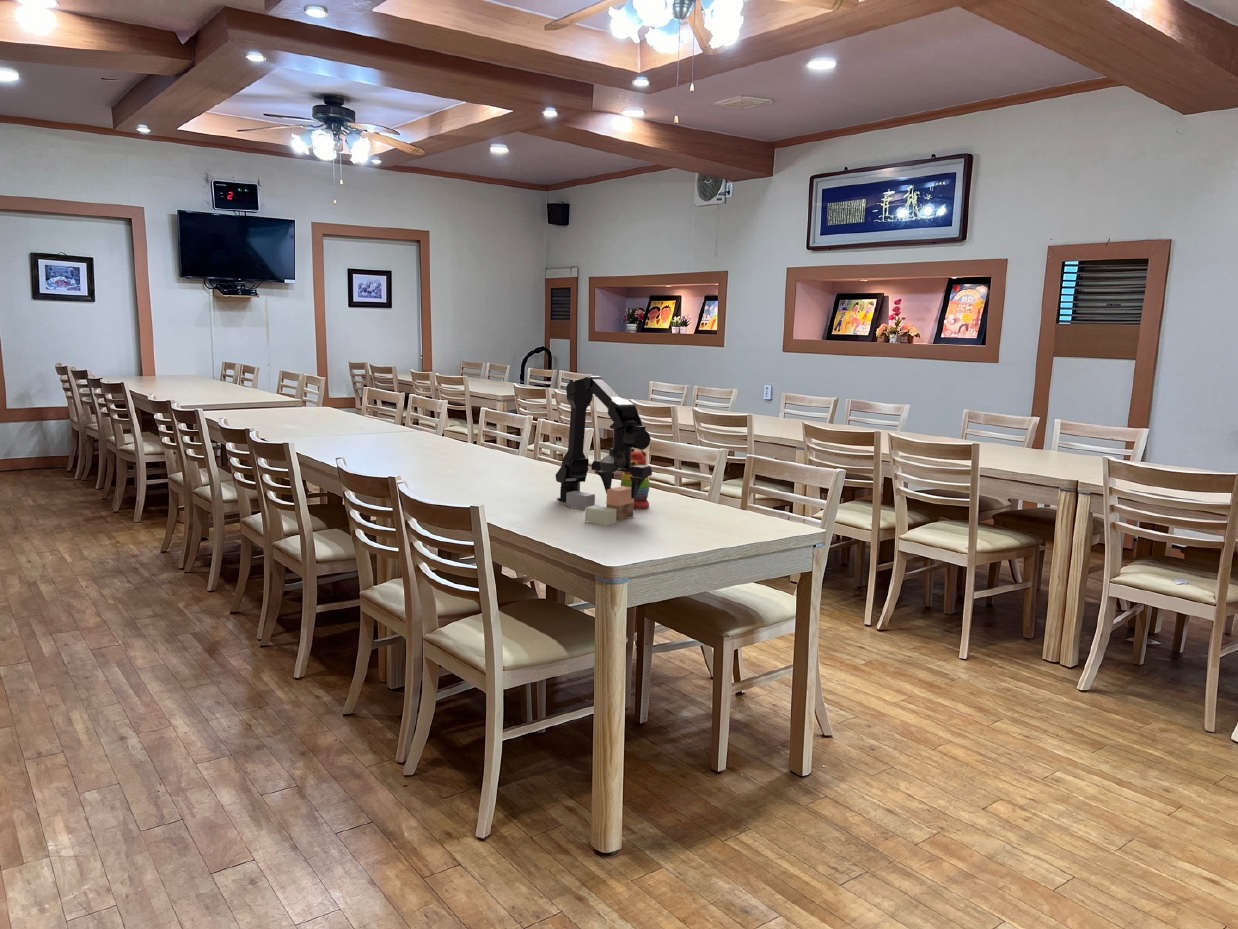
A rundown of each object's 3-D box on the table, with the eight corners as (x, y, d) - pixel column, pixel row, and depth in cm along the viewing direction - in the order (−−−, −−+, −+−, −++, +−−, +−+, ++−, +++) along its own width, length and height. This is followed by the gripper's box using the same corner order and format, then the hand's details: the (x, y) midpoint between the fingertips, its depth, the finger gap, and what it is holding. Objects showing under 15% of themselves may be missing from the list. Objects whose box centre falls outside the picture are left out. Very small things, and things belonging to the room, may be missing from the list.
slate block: (566, 506, 279) (566, 492, 279) (574, 504, 283) (575, 490, 282) (586, 510, 275) (586, 496, 274) (594, 508, 278) (595, 494, 278)
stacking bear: (613, 506, 281) (615, 451, 278) (622, 501, 290) (624, 448, 288) (645, 510, 278) (648, 454, 275) (653, 504, 287) (656, 450, 284)
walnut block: (621, 514, 270) (621, 500, 269) (633, 516, 267) (633, 502, 267) (606, 518, 263) (606, 504, 263) (618, 521, 261) (618, 506, 260)
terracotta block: (621, 500, 269) (622, 485, 269) (633, 502, 267) (634, 487, 266) (606, 503, 263) (606, 489, 262) (618, 506, 260) (619, 491, 260)
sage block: (584, 522, 258) (585, 507, 257) (594, 520, 261) (594, 505, 261) (607, 526, 253) (607, 511, 252) (615, 524, 257) (616, 509, 256)
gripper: (581, 444, 261) (579, 495, 263) (632, 451, 250) (630, 504, 253) (603, 441, 270) (601, 490, 272) (654, 447, 259) (651, 499, 262)
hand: (620, 496), depth 264 cm, fingers open, 9 cm apart
